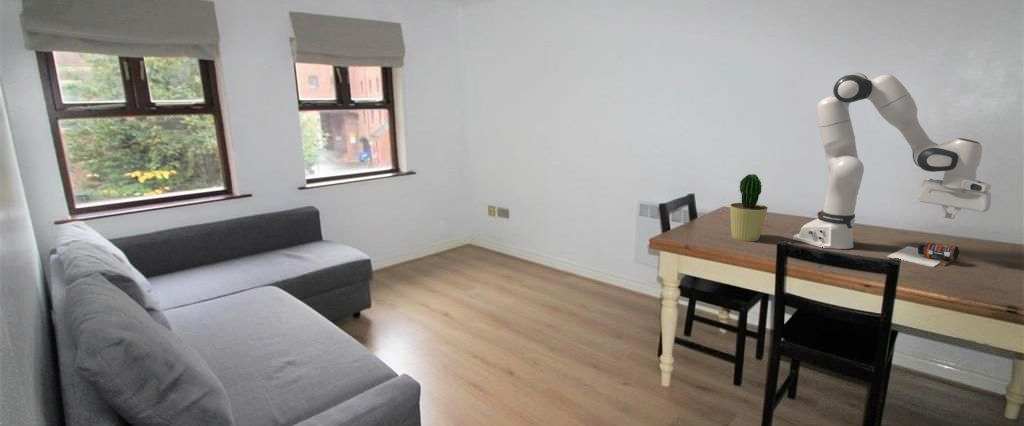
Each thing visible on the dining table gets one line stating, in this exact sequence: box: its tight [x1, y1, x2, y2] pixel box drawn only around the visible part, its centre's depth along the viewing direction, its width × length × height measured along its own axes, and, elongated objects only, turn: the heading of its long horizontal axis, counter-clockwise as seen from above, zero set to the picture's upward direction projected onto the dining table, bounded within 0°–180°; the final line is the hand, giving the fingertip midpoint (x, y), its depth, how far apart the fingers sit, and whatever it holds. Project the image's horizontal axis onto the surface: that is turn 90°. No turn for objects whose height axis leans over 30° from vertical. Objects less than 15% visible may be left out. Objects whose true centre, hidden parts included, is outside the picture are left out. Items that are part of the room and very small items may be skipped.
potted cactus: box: [729, 173, 768, 242], centre depth 217 cm, size 15×15×30 cm
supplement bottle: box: [917, 242, 960, 262], centre depth 188 cm, size 6×6×11 cm
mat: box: [886, 245, 943, 268], centre depth 193 cm, size 15×22×1 cm, turn 124°
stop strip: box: [938, 260, 953, 267], centre depth 186 cm, size 2×12×1 cm, turn 124°
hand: (948, 218), depth 184 cm, fingers closed
